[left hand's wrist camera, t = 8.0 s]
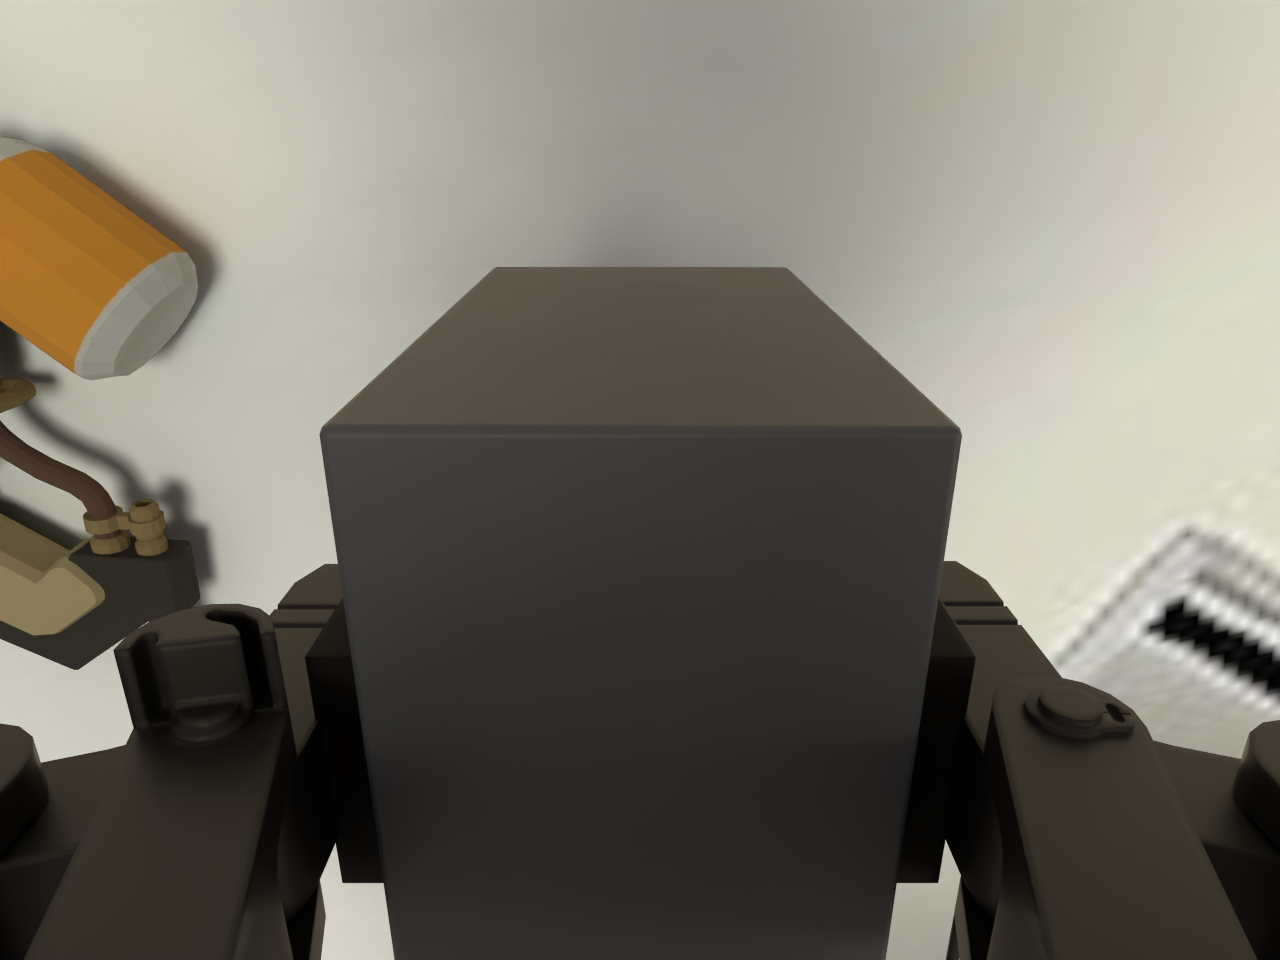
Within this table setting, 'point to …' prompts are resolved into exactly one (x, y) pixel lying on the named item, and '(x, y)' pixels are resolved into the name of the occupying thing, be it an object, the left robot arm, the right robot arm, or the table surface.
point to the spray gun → (94, 349)
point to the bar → (640, 617)
